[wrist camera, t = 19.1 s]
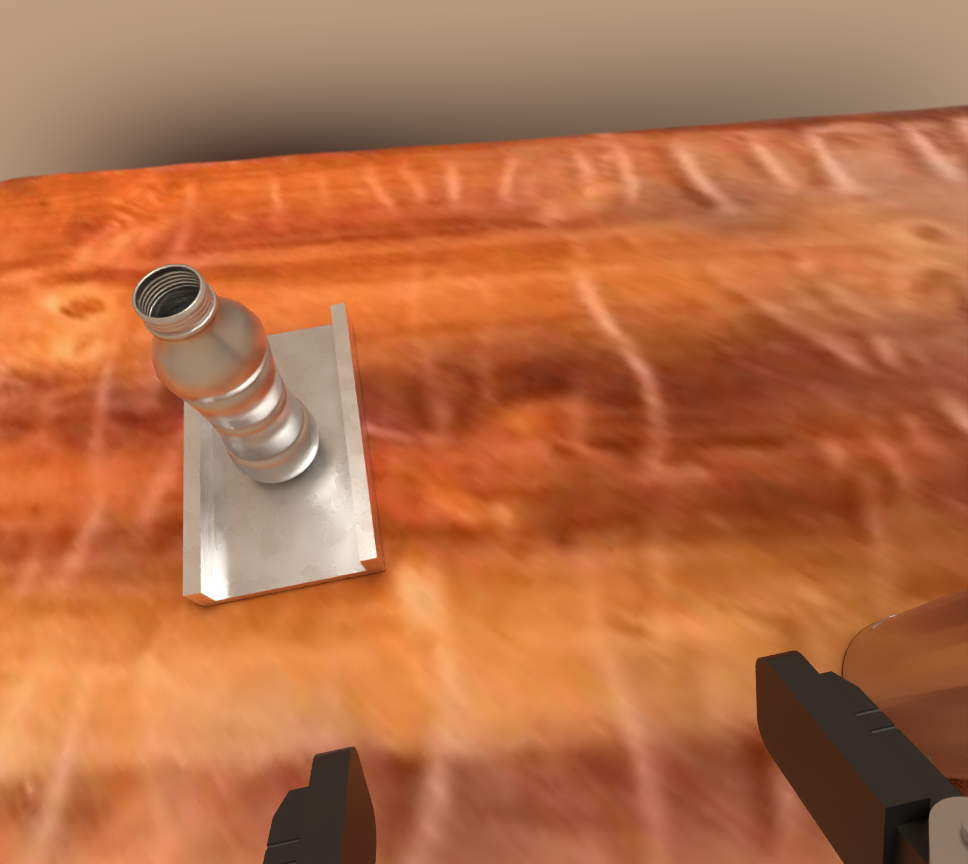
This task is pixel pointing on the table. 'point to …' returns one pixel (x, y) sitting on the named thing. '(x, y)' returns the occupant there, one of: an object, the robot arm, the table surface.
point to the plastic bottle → (225, 372)
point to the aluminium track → (286, 486)
